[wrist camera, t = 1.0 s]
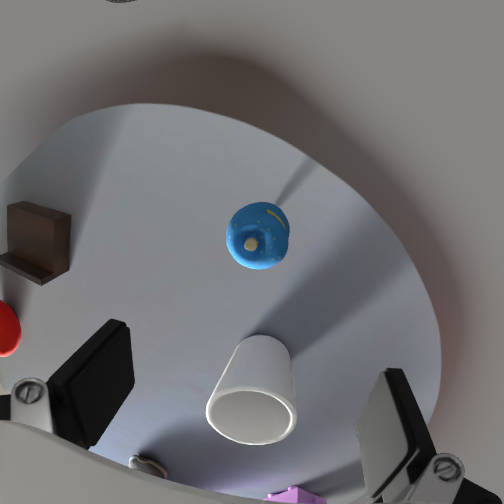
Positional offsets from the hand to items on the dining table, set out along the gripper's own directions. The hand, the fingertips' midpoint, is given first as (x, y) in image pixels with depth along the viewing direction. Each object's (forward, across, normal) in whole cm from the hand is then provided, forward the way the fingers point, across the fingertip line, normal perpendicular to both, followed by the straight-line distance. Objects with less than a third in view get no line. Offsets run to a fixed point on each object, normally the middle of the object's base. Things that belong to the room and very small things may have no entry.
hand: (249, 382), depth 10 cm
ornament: (+27, +2, -1) cm, 27 cm away
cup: (+27, -1, +18) cm, 33 cm away
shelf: (+27, +36, +6) cm, 46 cm away
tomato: (+27, +50, +26) cm, 63 cm away
